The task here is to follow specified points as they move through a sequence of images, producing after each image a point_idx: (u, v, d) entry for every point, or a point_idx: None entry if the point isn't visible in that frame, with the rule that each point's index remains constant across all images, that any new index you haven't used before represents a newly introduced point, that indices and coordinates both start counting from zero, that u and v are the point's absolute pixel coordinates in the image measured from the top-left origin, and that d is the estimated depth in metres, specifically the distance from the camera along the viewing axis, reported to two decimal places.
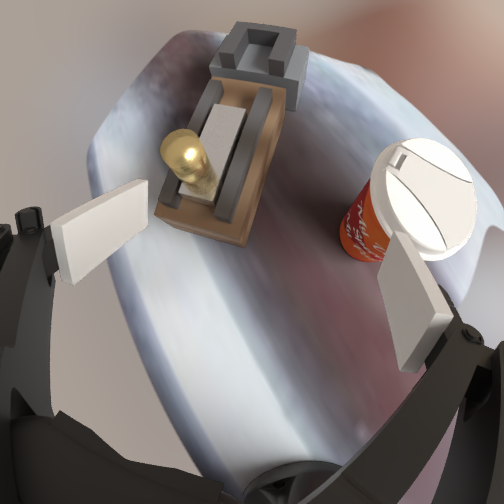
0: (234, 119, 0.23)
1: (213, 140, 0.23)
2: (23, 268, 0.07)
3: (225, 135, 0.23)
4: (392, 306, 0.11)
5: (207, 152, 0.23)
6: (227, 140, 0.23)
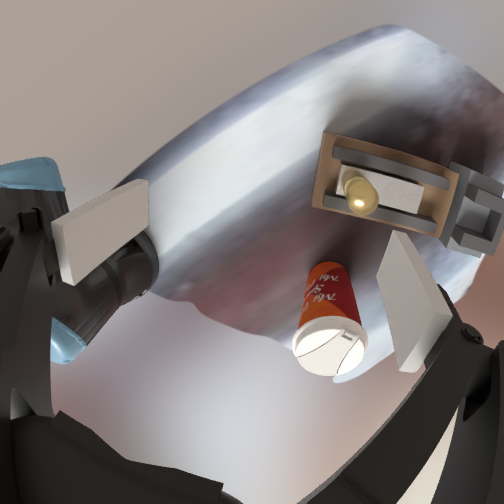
0: (407, 205, 0.26)
1: (388, 189, 0.26)
2: (24, 268, 0.07)
3: (392, 198, 0.26)
4: (392, 305, 0.11)
5: (377, 185, 0.26)
6: (388, 200, 0.26)
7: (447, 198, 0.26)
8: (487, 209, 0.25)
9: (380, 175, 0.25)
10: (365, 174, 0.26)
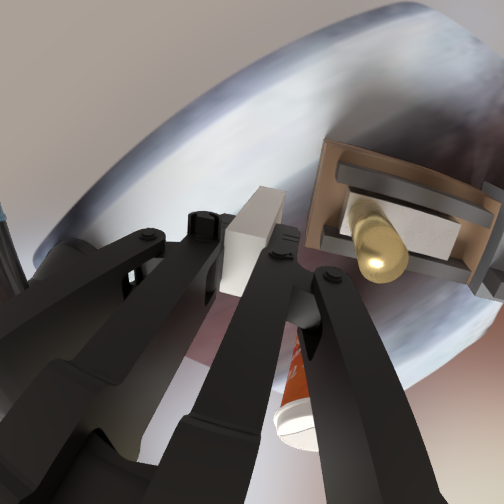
0: (436, 249, 0.18)
1: (413, 227, 0.18)
2: (176, 283, 0.07)
3: (418, 241, 0.18)
4: None
5: (399, 222, 0.18)
6: (412, 243, 0.18)
7: (484, 235, 0.18)
8: None
9: (404, 208, 0.17)
10: (383, 206, 0.18)
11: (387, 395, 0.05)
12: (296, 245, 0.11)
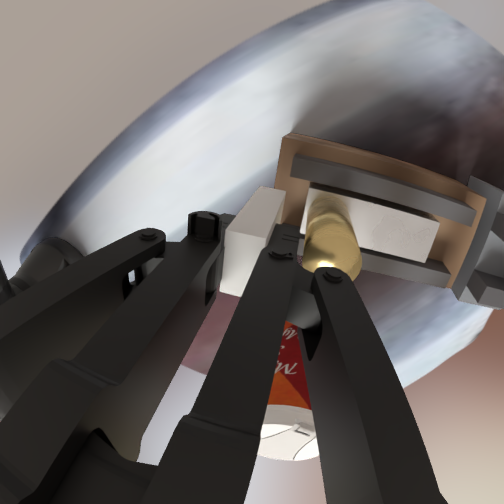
0: (411, 250, 0.17)
1: (383, 226, 0.17)
2: (177, 284, 0.07)
3: (389, 241, 0.17)
4: None
5: (367, 220, 0.17)
6: (382, 243, 0.17)
7: (467, 234, 0.17)
8: None
9: (371, 205, 0.16)
10: (347, 203, 0.17)
11: (387, 395, 0.05)
12: (296, 245, 0.11)
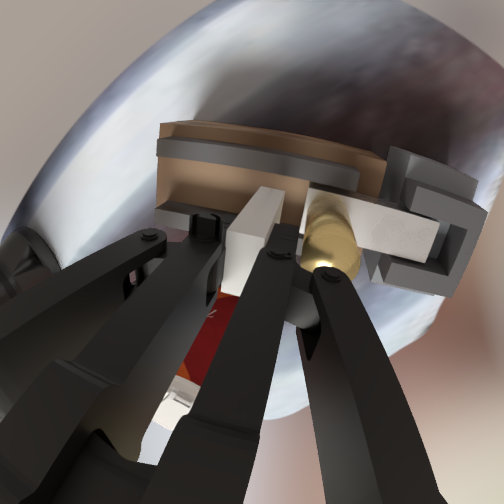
0: (411, 250, 0.17)
1: (383, 226, 0.17)
2: (178, 284, 0.07)
3: (389, 241, 0.17)
4: None
5: (366, 220, 0.17)
6: (382, 243, 0.17)
7: None
8: None
9: (371, 204, 0.16)
10: (346, 203, 0.17)
11: (386, 395, 0.05)
12: (295, 245, 0.11)
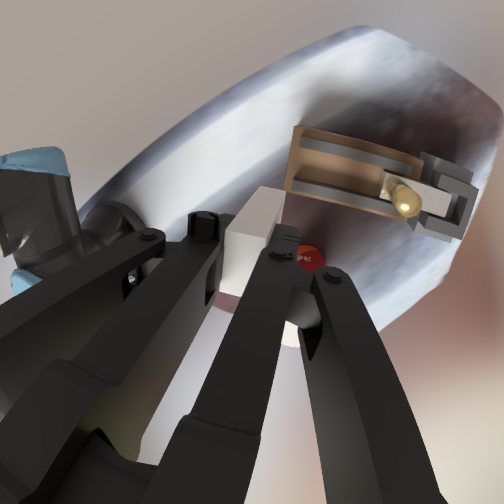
0: (437, 209, 0.28)
1: (423, 195, 0.28)
2: (176, 283, 0.07)
3: (426, 203, 0.29)
4: None
5: (414, 191, 0.28)
6: (422, 205, 0.29)
7: None
8: (455, 195, 0.29)
9: (417, 183, 0.28)
10: (405, 181, 0.28)
11: (387, 395, 0.05)
12: (296, 245, 0.11)
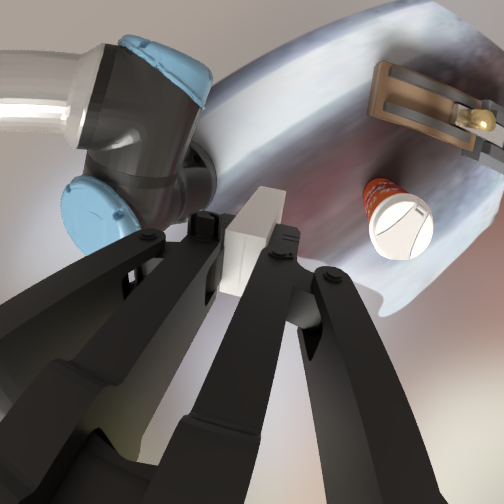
0: (496, 140, 0.26)
1: None
2: (176, 283, 0.07)
3: (488, 134, 0.26)
4: None
5: None
6: (486, 135, 0.26)
7: None
8: None
9: None
10: None
11: (387, 395, 0.05)
12: (296, 245, 0.11)
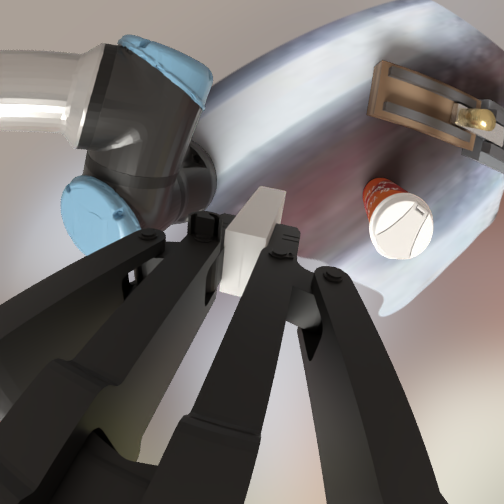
0: (496, 139, 0.26)
1: None
2: (177, 284, 0.07)
3: (488, 133, 0.26)
4: None
5: None
6: (485, 134, 0.26)
7: None
8: None
9: None
10: None
11: (387, 395, 0.05)
12: (296, 245, 0.11)
